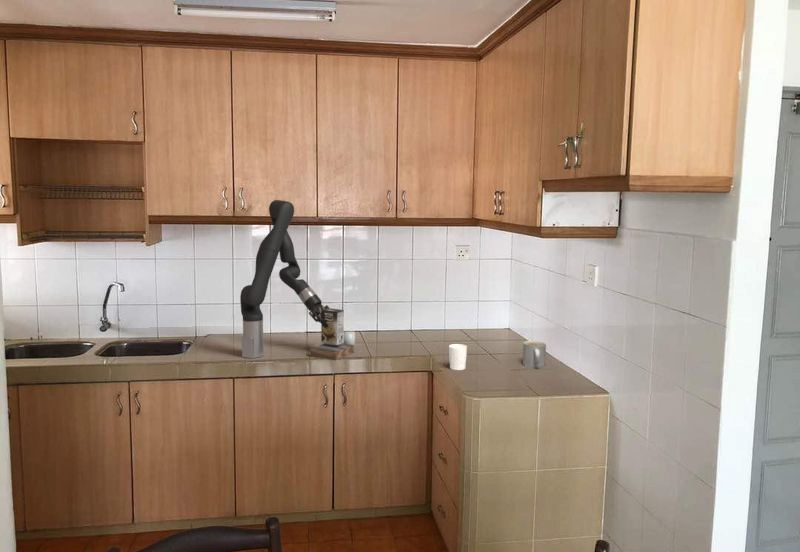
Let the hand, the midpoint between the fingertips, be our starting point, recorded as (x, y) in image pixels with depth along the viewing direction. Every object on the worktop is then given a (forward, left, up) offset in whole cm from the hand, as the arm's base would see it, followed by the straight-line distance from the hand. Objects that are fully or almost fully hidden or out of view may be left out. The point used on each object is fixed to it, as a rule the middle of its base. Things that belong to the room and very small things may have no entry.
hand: (330, 325), depth 307 cm
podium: (-1, -1, -14) cm, 14 cm away
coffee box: (0, -1, -9) cm, 9 cm away
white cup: (+6, -63, -14) cm, 65 cm away
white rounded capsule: (+14, -1, -14) cm, 20 cm away
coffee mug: (+26, -91, -14) cm, 96 cm away
